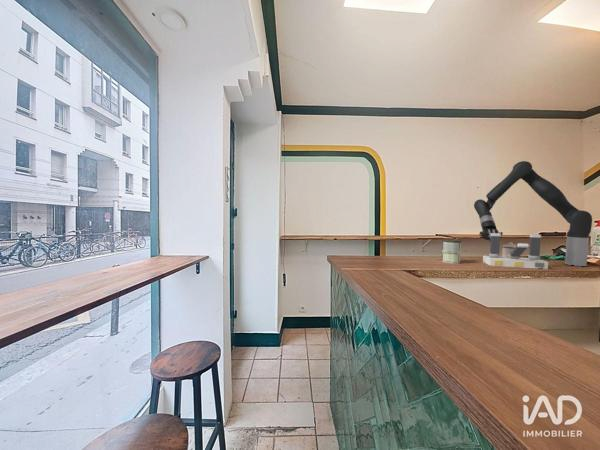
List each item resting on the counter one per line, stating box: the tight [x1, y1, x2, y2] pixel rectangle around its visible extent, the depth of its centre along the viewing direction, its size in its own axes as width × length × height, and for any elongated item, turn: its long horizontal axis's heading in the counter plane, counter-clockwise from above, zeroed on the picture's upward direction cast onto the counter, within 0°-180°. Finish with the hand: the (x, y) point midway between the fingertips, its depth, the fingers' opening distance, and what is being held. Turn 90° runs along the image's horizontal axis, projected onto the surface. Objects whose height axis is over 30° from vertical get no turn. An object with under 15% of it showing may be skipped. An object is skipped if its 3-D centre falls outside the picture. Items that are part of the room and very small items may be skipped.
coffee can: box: [441, 238, 462, 264], centre depth 170 cm, size 10×10×14 cm
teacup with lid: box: [501, 241, 517, 257], centre depth 181 cm, size 12×9×12 cm
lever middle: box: [508, 242, 530, 259], centre depth 156 cm, size 5×2×15 cm
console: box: [482, 255, 549, 270], centre depth 161 cm, size 28×12×4 cm, turn 73°
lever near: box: [527, 233, 542, 260], centre depth 158 cm, size 5×2×15 cm, turn 73°
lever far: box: [488, 232, 502, 258], centre depth 164 cm, size 5×2×15 cm, turn 73°
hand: (494, 244), depth 165 cm, fingers closed
